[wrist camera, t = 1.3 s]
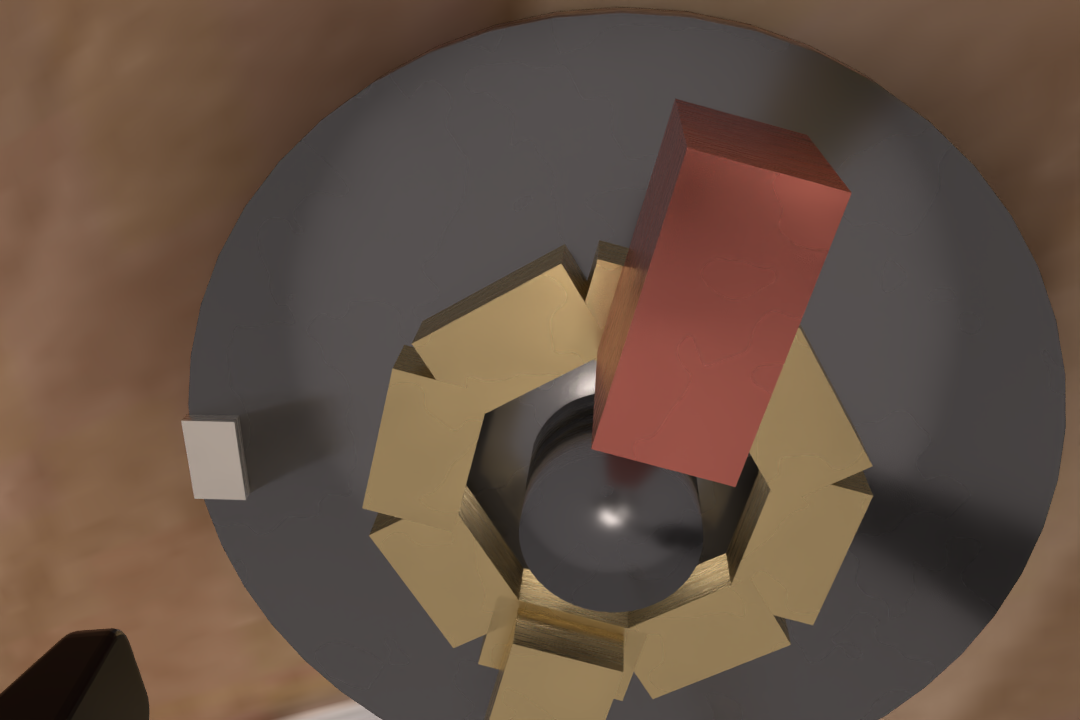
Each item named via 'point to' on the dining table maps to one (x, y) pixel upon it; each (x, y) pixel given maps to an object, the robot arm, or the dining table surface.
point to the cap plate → (568, 401)
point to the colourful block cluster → (641, 423)
